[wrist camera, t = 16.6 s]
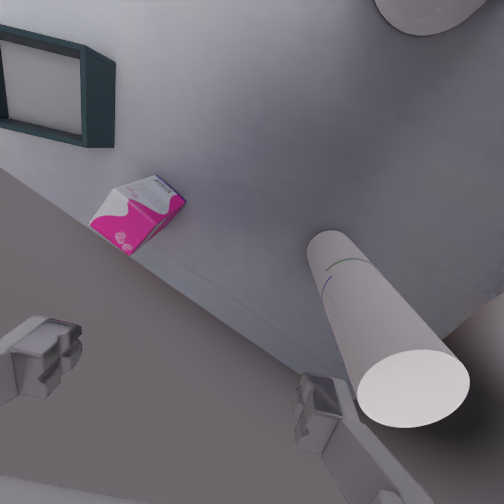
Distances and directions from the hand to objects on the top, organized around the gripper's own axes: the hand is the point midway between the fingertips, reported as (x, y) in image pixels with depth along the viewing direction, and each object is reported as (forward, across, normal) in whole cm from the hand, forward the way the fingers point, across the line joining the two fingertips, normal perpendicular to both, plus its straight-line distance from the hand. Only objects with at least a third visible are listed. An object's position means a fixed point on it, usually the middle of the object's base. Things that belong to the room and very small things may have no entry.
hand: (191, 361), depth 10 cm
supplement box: (+31, +13, +3) cm, 34 cm away
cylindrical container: (+31, -14, +5) cm, 35 cm away
